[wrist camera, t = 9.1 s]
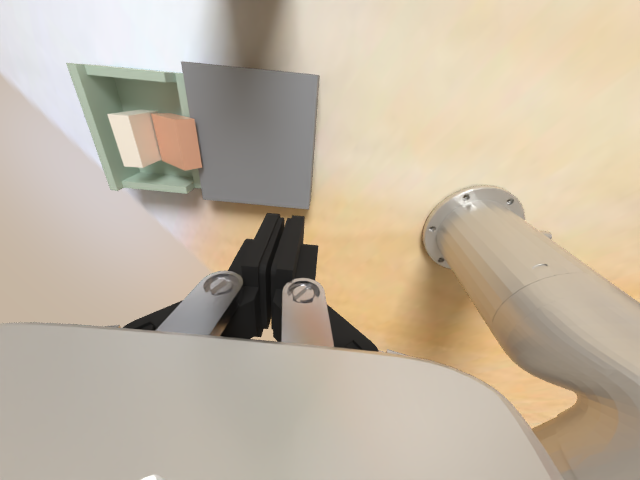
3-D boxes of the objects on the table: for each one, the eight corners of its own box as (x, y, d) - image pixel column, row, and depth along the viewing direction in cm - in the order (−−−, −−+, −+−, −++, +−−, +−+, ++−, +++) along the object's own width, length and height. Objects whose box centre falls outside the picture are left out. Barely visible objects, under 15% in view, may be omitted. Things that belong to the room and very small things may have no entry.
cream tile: (127, 115, 25) (107, 114, 25) (143, 167, 27) (124, 166, 27) (158, 110, 29) (140, 109, 29) (168, 156, 32) (152, 155, 32)
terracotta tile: (194, 118, 27) (174, 119, 25) (202, 167, 29) (184, 170, 28) (169, 112, 29) (150, 113, 28) (179, 158, 32) (162, 160, 30)
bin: (192, 74, 28) (166, 72, 23) (207, 183, 34) (189, 197, 30) (107, 65, 28) (66, 62, 23) (138, 176, 34) (110, 190, 30)
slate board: (319, 75, 27) (317, 75, 25) (310, 200, 35) (308, 209, 32) (195, 63, 27) (180, 61, 25) (212, 190, 34) (203, 199, 32)
